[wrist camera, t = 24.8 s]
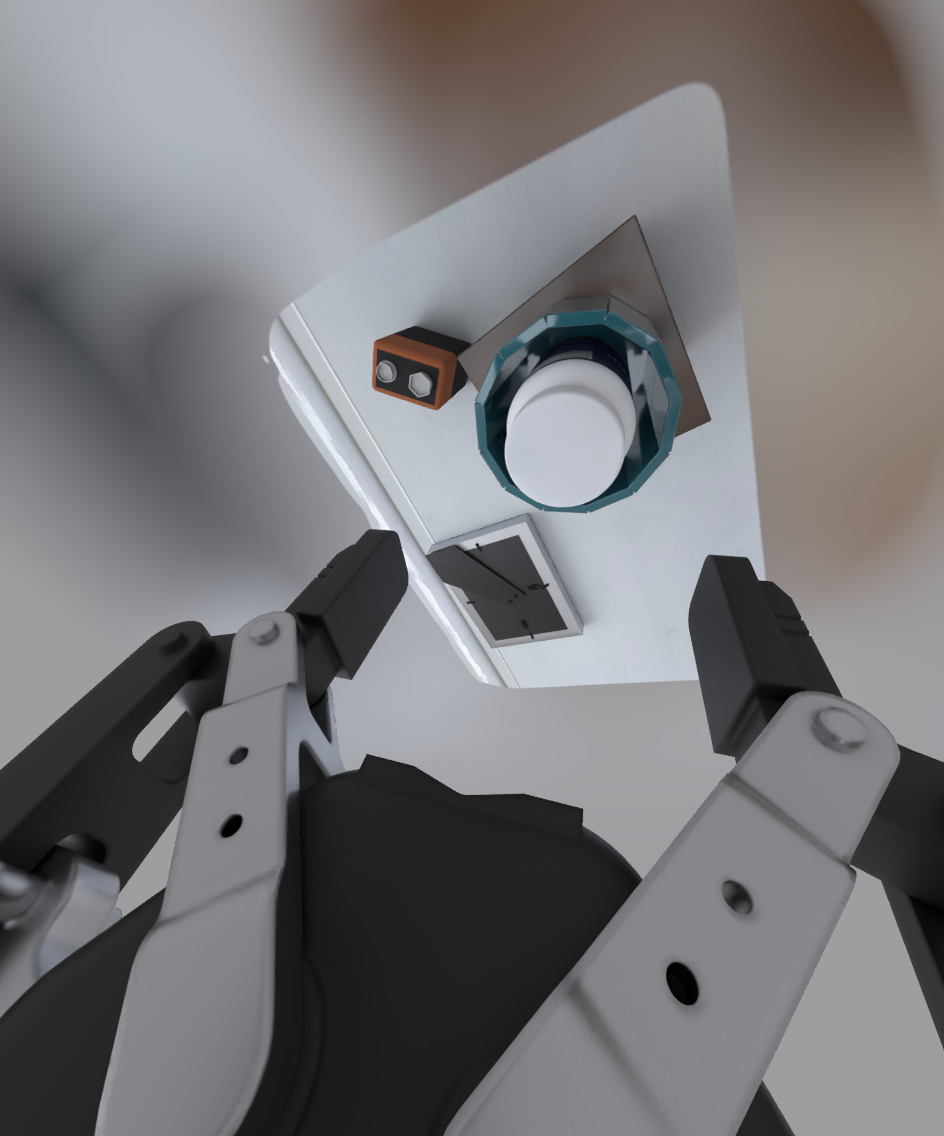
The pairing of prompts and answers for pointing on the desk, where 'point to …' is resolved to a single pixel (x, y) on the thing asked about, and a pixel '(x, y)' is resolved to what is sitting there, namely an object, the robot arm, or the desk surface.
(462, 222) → the desk surface
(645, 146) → the desk surface
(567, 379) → the pill bottle
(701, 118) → the desk surface
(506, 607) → the picture frame
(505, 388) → the cup
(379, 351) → the battery
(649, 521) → the desk surface
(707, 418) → the stand
